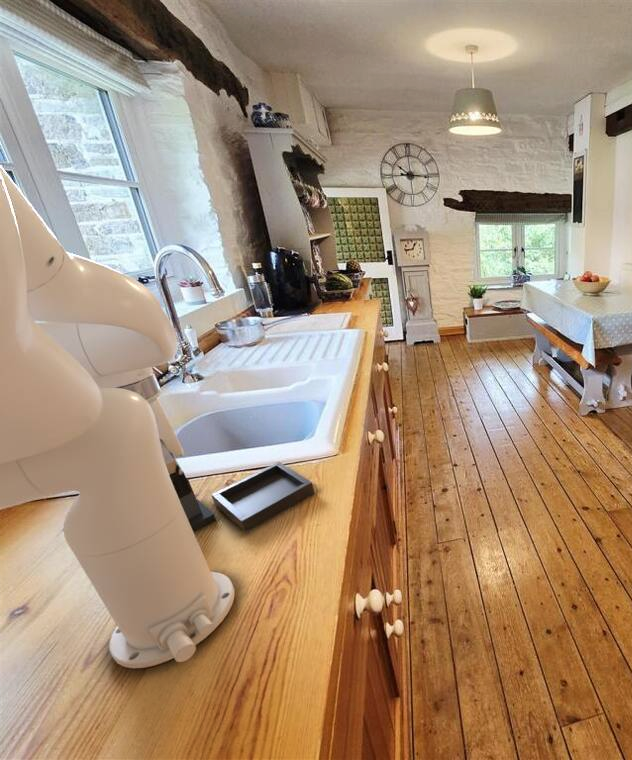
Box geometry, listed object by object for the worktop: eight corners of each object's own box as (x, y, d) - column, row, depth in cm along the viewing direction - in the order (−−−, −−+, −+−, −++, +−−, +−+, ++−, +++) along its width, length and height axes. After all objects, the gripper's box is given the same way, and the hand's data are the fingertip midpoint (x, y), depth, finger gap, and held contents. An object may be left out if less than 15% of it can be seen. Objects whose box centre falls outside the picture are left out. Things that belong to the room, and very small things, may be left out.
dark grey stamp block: (216, 519, 69) (200, 479, 66) (166, 546, 64) (146, 504, 61) (199, 504, 73) (184, 466, 70) (151, 528, 68) (132, 487, 65)
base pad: (314, 492, 75) (311, 482, 74) (245, 532, 66) (241, 521, 65) (281, 471, 82) (278, 461, 81) (214, 504, 73) (210, 494, 72)
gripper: (178, 395, 57) (216, 493, 64) (139, 369, 66) (176, 457, 74) (108, 418, 52) (158, 522, 59) (76, 386, 61) (123, 479, 68)
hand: (168, 486), depth 66 cm, fingers open, 9 cm apart
